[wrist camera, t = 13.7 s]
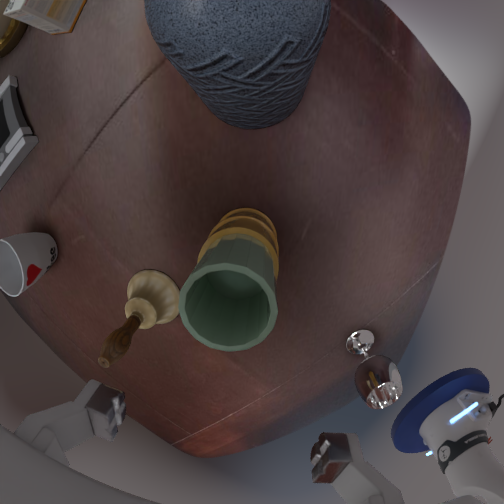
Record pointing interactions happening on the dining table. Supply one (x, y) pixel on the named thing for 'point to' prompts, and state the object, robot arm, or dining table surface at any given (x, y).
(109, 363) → the hand bell
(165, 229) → the dining table surface
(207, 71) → the vase
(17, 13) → the supplement box
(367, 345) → the wineglass
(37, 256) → the cup
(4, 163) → the alarm clock
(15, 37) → the lamp
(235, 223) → the cup stack
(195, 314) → the sage cup
